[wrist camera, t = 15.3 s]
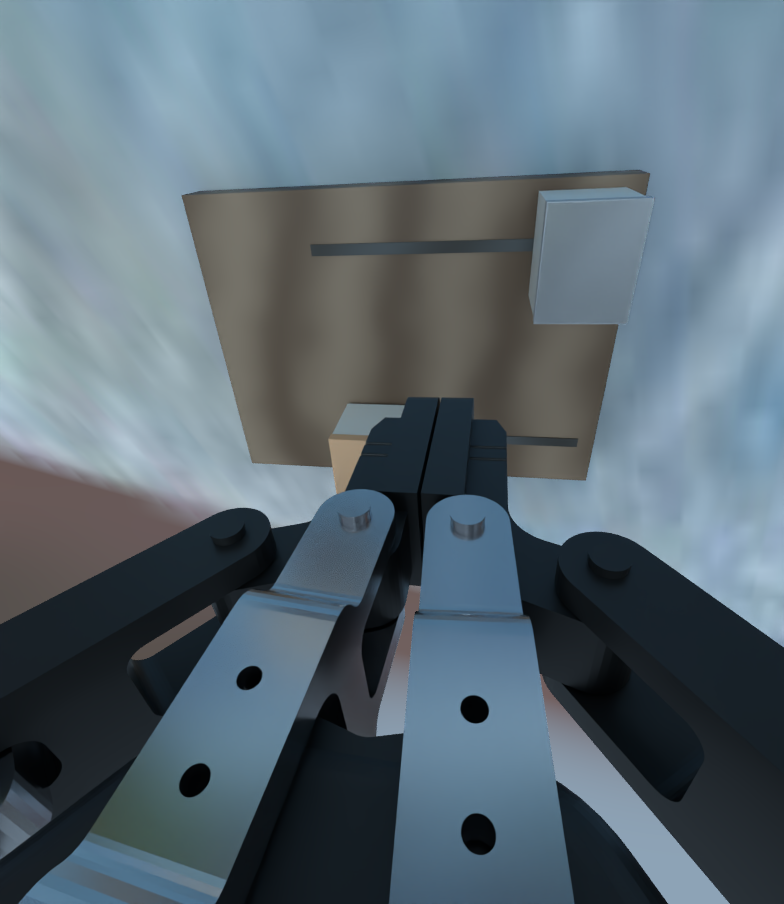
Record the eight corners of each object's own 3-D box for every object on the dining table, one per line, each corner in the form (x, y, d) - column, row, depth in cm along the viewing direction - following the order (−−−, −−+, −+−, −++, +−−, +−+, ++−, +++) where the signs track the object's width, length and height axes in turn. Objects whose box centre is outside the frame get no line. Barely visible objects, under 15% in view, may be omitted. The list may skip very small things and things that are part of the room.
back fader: (408, 404, 31) (397, 442, 28) (411, 468, 34) (401, 510, 30) (346, 402, 32) (328, 439, 28) (354, 465, 35) (338, 506, 31)
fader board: (639, 169, 24) (650, 173, 22) (581, 463, 34) (585, 481, 32) (199, 191, 28) (180, 195, 26) (262, 448, 38) (251, 463, 36)
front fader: (627, 185, 23) (654, 197, 19) (607, 295, 26) (627, 324, 22) (537, 189, 23) (547, 202, 20) (527, 295, 26) (533, 324, 23)
